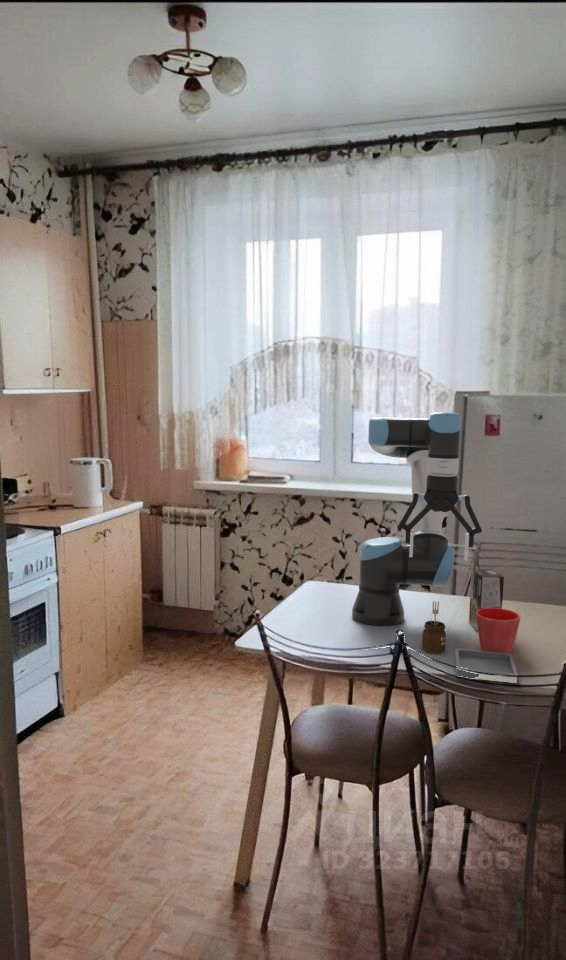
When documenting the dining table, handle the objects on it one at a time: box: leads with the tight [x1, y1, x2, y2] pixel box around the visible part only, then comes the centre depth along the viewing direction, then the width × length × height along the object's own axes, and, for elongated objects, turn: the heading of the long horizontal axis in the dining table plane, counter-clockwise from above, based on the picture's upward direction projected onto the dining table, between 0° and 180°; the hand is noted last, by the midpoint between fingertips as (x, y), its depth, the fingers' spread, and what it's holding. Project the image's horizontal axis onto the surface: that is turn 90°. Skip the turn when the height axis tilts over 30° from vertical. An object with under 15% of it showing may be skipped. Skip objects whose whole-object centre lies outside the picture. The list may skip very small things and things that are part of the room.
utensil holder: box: [421, 600, 447, 655], centre depth 178 cm, size 6×6×12 cm
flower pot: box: [476, 608, 521, 654], centre depth 179 cm, size 11×11×10 cm
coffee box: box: [468, 568, 505, 632], centre depth 195 cm, size 9×6×16 cm
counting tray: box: [454, 647, 519, 678], centre depth 167 cm, size 14×14×2 cm
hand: (438, 558), depth 176 cm, fingers open, 13 cm apart
